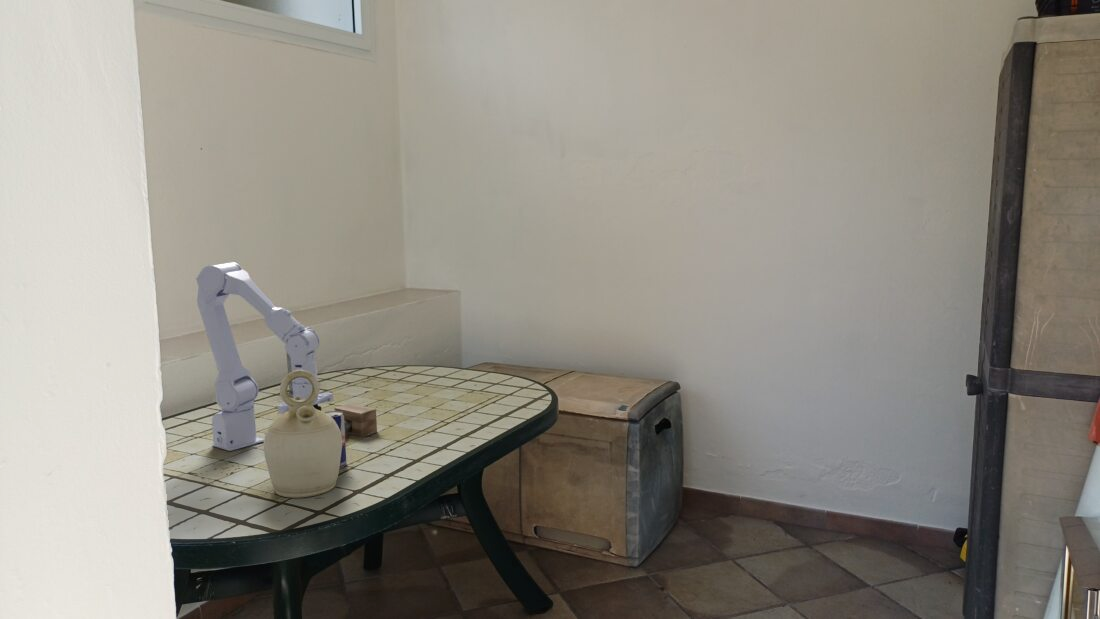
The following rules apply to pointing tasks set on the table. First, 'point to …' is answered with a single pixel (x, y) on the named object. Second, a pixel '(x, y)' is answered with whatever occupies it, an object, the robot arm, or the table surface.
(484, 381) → the table surface
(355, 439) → the table surface
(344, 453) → the energy drink
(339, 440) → the jug
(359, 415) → the socket block
